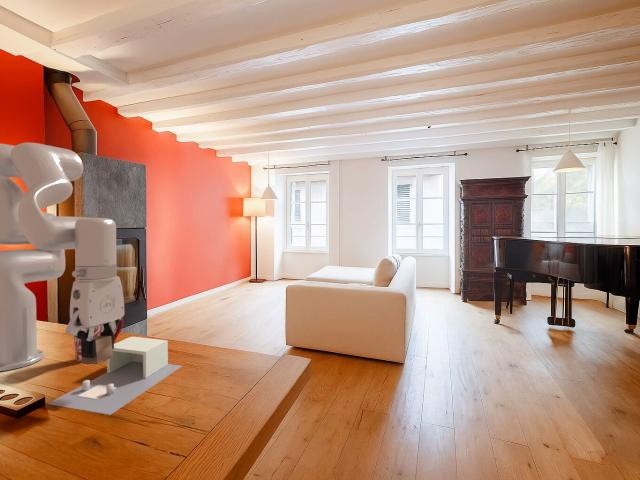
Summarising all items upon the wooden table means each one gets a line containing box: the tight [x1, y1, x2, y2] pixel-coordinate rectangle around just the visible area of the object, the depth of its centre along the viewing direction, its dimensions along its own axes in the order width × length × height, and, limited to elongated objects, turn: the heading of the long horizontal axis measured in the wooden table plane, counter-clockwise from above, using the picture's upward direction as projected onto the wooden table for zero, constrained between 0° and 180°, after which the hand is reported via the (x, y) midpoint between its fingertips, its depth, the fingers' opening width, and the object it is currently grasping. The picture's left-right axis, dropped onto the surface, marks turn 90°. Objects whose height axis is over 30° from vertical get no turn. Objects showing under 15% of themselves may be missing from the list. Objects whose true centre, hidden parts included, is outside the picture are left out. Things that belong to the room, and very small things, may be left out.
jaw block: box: [82, 336, 113, 365], centre depth 72 cm, size 4×4×5 cm
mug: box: [73, 318, 124, 362], centre depth 92 cm, size 13×9×14 cm
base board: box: [47, 361, 183, 416], centre depth 77 cm, size 16×23×3 cm
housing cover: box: [106, 336, 169, 378], centre depth 84 cm, size 12×8×7 cm
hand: (98, 352), depth 72 cm, fingers closed on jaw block, 4 cm apart
